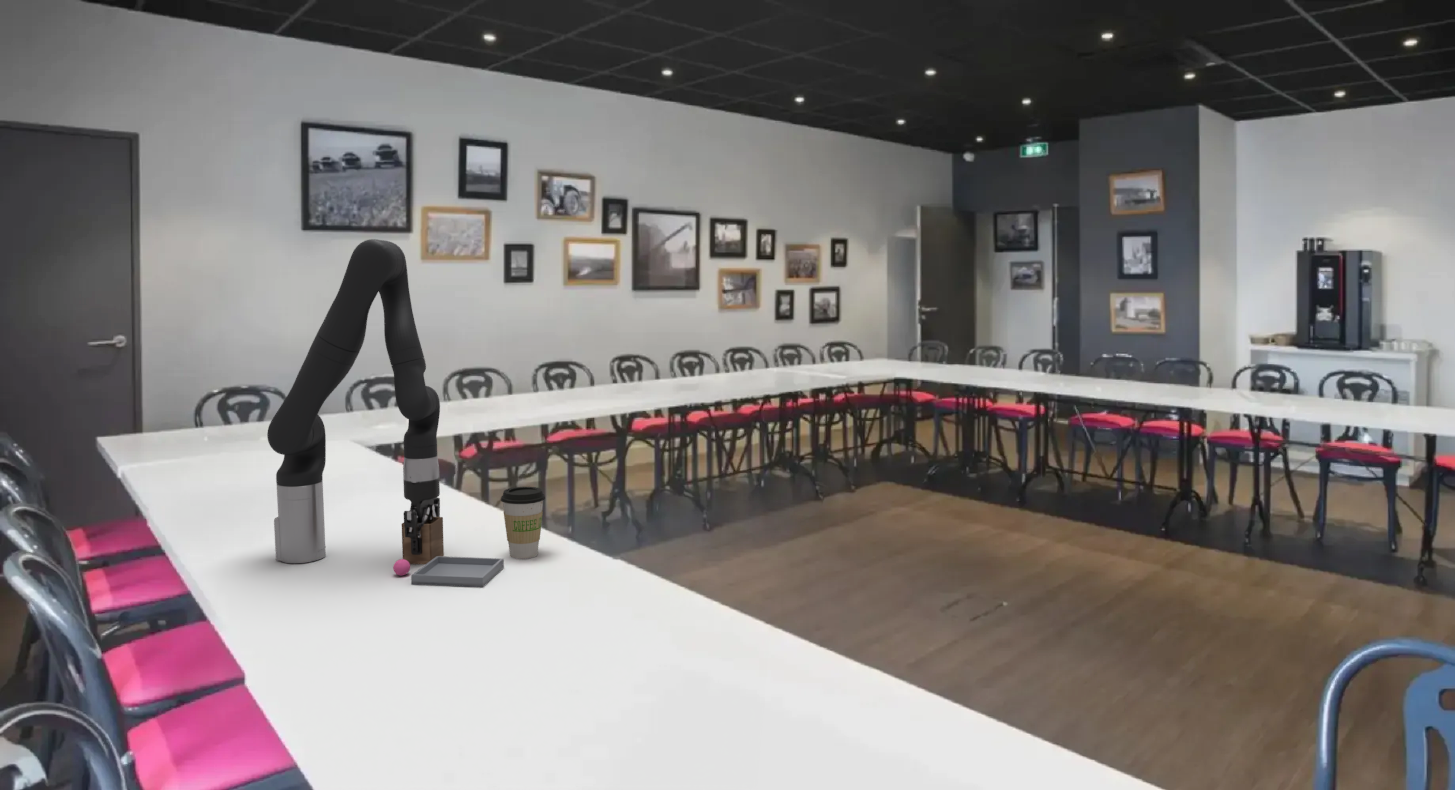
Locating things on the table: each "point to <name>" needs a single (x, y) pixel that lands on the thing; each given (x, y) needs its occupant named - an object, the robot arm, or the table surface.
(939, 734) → the table surface
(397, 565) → the ball
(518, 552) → the coffee cup
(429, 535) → the pen cup
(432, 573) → the tray
